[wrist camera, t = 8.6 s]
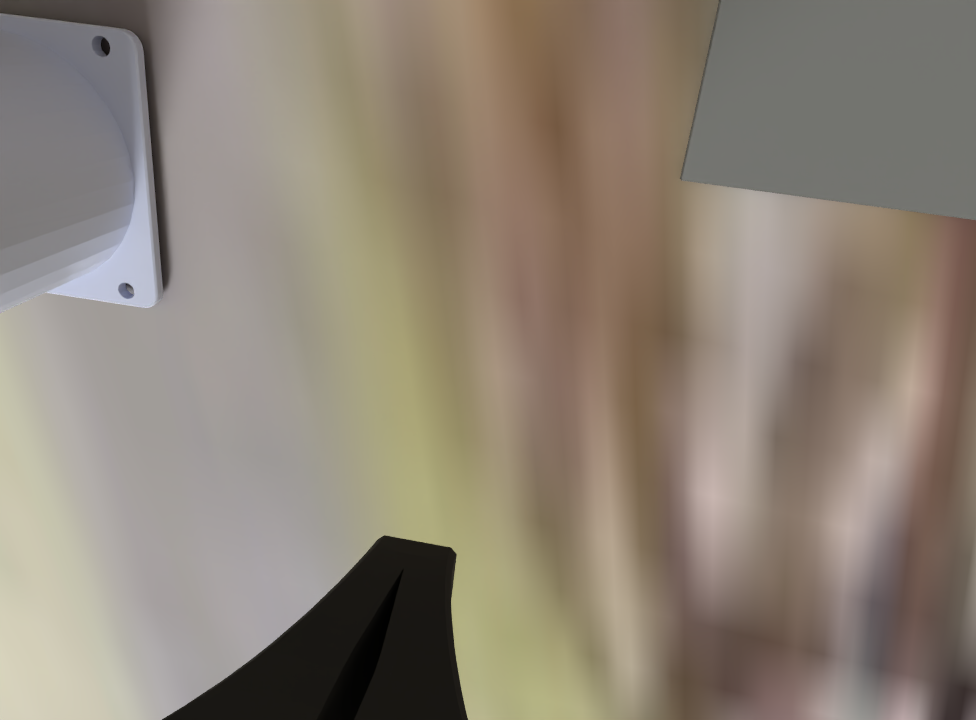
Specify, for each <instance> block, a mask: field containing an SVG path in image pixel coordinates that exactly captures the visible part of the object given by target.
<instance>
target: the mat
mask: <svg viewBox="0 0 976 720" xmlns="http://www.w3.org/2000/svg"><path fill="white" fill-rule="evenodd" d="M680 179H681V180H683V181H690V182H697V183H705V184H712V185H720V186H727V187H735V188H742V189H749V190H757V191H764V192H772V193H779V194H787V195H794V196H802V197H809V198H816V199H824V200H831V201H839V202H846V203H854V204H861V205H868V206H876V207H883V208H891V209H898V210H906V211H913V212H920V213H928V214H935V215H943V216H950V217H958V218H965V219H973V220H976V0H719V4H718V9H717V14H716V18H715V23H714V27H713V32H712V36H711V41H710V45H709V50H708V54H707V59H706V63H705V68H704V73H703V77H702V82H701V86H700V91H699V95H698V100H697V104H696V109H695V113H694V118H693V123H692V127H691V132H690V136H689V141H688V145H687V150H686V154H685V159H684V163H683V168H682V173H681V177H680Z"/></svg>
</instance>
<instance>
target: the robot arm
mask: <svg viewBox="0 0 976 720" xmlns="http://www.w3.org/2000/svg"><path fill="white" fill-rule="evenodd" d="M103 37H105V38H106V40H107V41H108V42H109V45H110V53H109V54H108V55H106V54H105V53H104V52H103V51H102V48H101V40H102V39H103ZM126 283H128V284H130V285H131V286H132V287H133V289H134V295H133V294H131V293H130V292H129V291H128V290H127V288H126ZM45 292H46V293H52V294H59V295H65V296H72V297H78V298H85V299H91V300H97V301H104V302H110V303H117V304H123V305H130V306H136V307H143V308H148V307H151V306H153V305H155V304H157V303H158V302H160V300H161V299H162V296H163V285H162V273H161V261H160V248H159V236H158V224H157V211H156V199H155V187H154V174H153V162H152V150H151V137H150V125H149V113H148V100H147V88H146V76H145V64H144V51H143V47H142V43H141V41H140V40H139V38H138V37H137V36H136V35H135V34H134V33H133V32H132V31H130V30H127V29H123V28H115V27H107V26H99V25H91V24H84V23H76V22H68V21H60V20H52V19H44V18H36V17H28V16H20V15H13V14H5V13H0V313H2V312H4V311H6V310H8V309H10V308H13V307H15V306H17V305H19V304H21V303H24V302H26V301H28V300H30V299H32V298H35V297H37V296H39V295H41V294H43V293H45ZM455 563H456V553H455V552H454V551H453V549H452V548H450V547H444V546H439V545H434V544H428V543H423V542H417V541H412V540H406V539H401V538H395V537H390V536H385V535H384V536H383V537H381V538H379V539H378V540H377V541H376V542H375V543H374V545H373V546H372V547H371V548H370V549H369V550H368V552H367V553H366V554H365V555H364V556H363V557H362V558H361V559H360V560H359V562H358V563H357V564H356V565H355V566H354V567H353V568H352V569H351V570H350V571H349V572H348V573H347V574H346V575H345V576H344V577H343V578H342V579H341V580H340V582H339V583H338V584H337V585H336V586H334V587H333V588H332V589H331V590H330V591H329V592H328V593H327V594H326V595H325V596H324V597H323V598H322V599H321V600H320V601H319V602H318V603H317V604H316V605H315V606H314V607H313V608H312V609H311V610H310V611H308V612H307V613H306V614H305V615H304V616H303V617H302V618H301V619H299V620H298V621H297V622H296V623H295V624H294V625H292V626H291V627H290V628H289V629H288V630H287V631H286V632H284V633H283V634H282V635H281V636H280V637H279V638H277V639H276V640H275V641H274V642H273V643H271V644H270V645H269V646H268V647H267V648H265V649H264V650H263V651H261V652H260V653H259V654H258V655H256V656H255V657H254V658H253V659H251V660H250V661H249V662H247V663H246V664H245V665H243V666H242V667H241V668H239V669H238V670H236V671H235V672H234V673H232V674H231V675H230V676H228V677H227V678H225V679H224V680H223V681H221V682H220V683H218V684H217V685H215V686H214V687H212V688H211V689H209V690H208V691H206V692H205V693H203V694H202V695H200V696H199V697H197V698H196V699H194V700H193V701H191V702H190V703H188V704H187V705H185V706H183V707H182V708H180V709H179V710H177V711H175V712H174V713H172V714H170V715H169V716H167V717H165V718H164V719H162V720H468V718H467V714H466V710H465V705H464V701H463V696H462V691H461V686H460V680H459V674H458V668H457V662H456V655H455V647H454V638H453V627H452V615H451V597H452V588H453V580H454V571H455Z"/></svg>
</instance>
